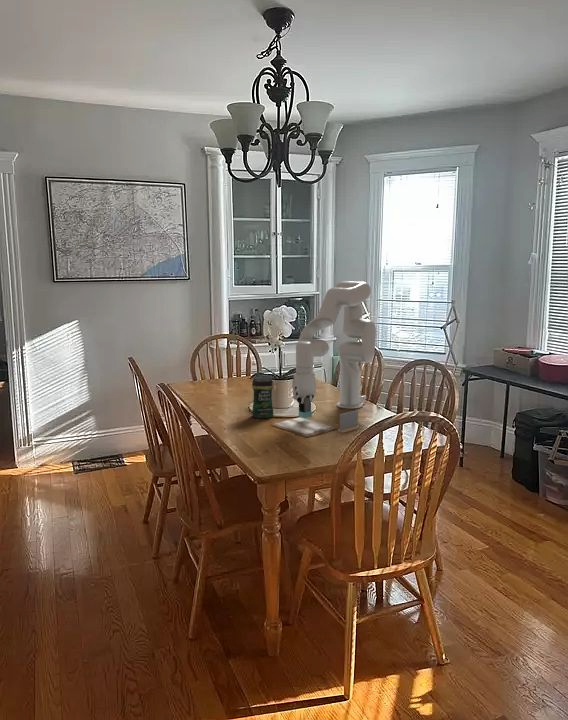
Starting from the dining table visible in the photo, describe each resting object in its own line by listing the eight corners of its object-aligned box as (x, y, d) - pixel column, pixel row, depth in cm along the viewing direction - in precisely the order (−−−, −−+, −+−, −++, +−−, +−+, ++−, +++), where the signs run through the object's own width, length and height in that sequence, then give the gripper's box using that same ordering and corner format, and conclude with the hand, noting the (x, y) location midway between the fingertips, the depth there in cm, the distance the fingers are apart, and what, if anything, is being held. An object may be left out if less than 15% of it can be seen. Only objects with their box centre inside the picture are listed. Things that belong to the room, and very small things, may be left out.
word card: (354, 426, 250) (354, 409, 249) (359, 428, 248) (359, 410, 246) (337, 431, 244) (337, 413, 242) (342, 432, 241) (343, 415, 240)
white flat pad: (301, 418, 264) (301, 414, 264) (337, 429, 246) (337, 425, 246) (271, 425, 253) (271, 421, 253) (306, 437, 236) (306, 433, 235)
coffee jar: (253, 419, 262) (252, 379, 259) (251, 414, 270) (250, 375, 267) (274, 418, 264) (274, 378, 260) (272, 413, 272) (271, 374, 268)
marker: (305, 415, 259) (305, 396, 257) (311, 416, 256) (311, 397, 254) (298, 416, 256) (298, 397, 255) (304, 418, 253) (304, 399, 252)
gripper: (313, 366, 260) (313, 406, 264) (284, 371, 250) (285, 412, 253) (324, 368, 255) (324, 409, 258) (295, 373, 244) (296, 416, 248)
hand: (304, 410), depth 256 cm, fingers closed on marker, 3 cm apart
